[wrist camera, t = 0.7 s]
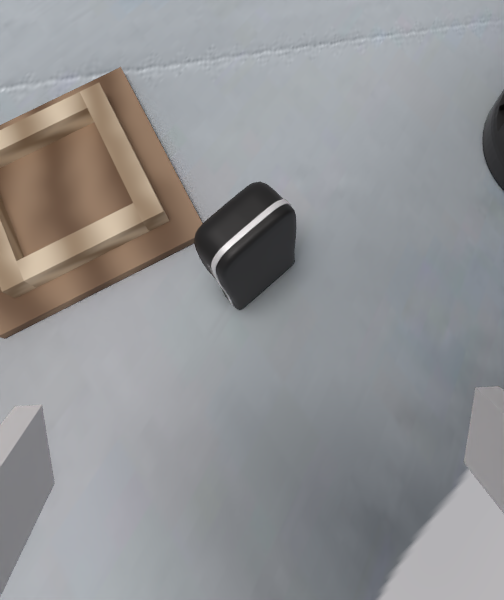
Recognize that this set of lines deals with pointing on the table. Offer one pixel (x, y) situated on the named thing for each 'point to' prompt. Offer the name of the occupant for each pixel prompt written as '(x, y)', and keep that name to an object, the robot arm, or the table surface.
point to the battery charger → (248, 242)
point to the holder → (83, 200)
